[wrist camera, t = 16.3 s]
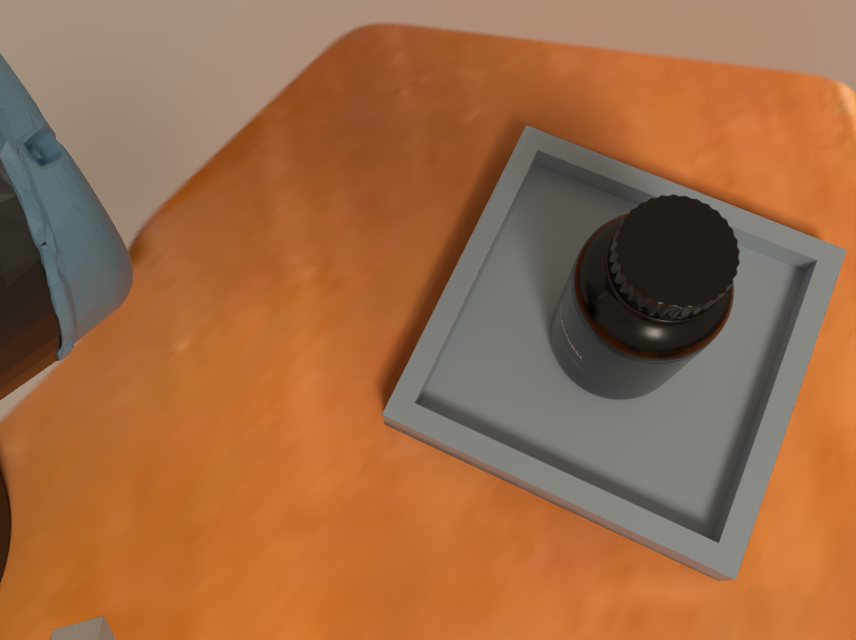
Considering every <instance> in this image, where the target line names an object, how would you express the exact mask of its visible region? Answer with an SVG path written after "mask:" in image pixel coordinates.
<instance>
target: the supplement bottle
mask: <svg viewBox="0 0 856 640" xmlns="http://www.w3.org/2000/svg"><path fill="white" fill-rule="evenodd" d="M737 244H738V240H737V239H736V237H735V236H734V231H733V229H732V228H731V227H730V226H729V225H728V222H727V220H726V219H725V218H723V217H722V216H721V215H720V213H719V211H717V210H714V209H712V208H711V206H710V205H709V204H706V203H702V202H701V201H700V200H698V199H691V198H689V197H688V196H677V195H675V194H673V195H670V196H665V195H661V196H659V197H658V198H650V199H649V200H648V201H647V202H642V203H640V204H639V205H638V206H637V208H634V209H631V210H630V212H629V213H627V214H624V215H620V216H618V217H616V218H613V219H612V220H610V221H608V222H606V223H605V224H603V225H602V226H601V227H599V228H598V229H597V230H596V231H595V232H594V233H593V234H592V235H591V236H590V237H589V238H588V240H587V241H586V242H585V244H584V245H583V247H582V249H581V250H580V252H579V254H578V256H577V258H576V261H575V263H574V265H573V268H572V270H571V272H570V275H569V277H568V280H567V282H566V284H565V287H564V289H563V291H562V294H561V296H560V299H559V301H558V303H557V306H556V309H555V312H554V314H553V318H552V323H551V343H552V348H553V352H554V355H555V357H556V359H557V361H558V363H559V365H560V367H561V368H562V370H563V371H564V372H565V374H566V375H567V376H568V377H569V378H570V379H571V380H572V381H573V382H574V383H575V384H576V385H578V386H579V387H581V388H582V389H584V390H585V391H587V392H589V393H591V394H594V395H596V396H599V397H603V398H607V399H614V400H627V399H634V398H638V397H641V396H644V395H646V394H649V393H651V392H653V391H654V390H656V389H658V388H659V387H660V386H662V385H663V384H664V383H666V382H667V381H668V380H669V379H670V378H671V377H673V376H674V375H675V374H676V373H677V372H678V371H679V370H681V369H682V368H683V367H684V366H685V365H686V364H687V363H689V362H690V361H691V360H692V359H693V358H694V357H695V356H697V355H698V354H699V353H700V352H701V351H702V350H703V349H705V348H706V347H707V346H708V345H709V344H710V343H711V342H712V341H713V340H714V339H715V338H716V337H717V336H718V334H719V333H720V332H721V330H722V329H723V328H724V326H725V324H726V322H727V320H728V318H729V316H730V313H731V309H732V306H733V300H734V281H733V279H734V278H735V277H736V275H737V267H738V266H739V264H740V262H739V258H738V256H739V253H740V251H739V249H738V247H737Z"/></svg>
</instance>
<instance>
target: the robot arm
mask: <svg viewBox="0 0 856 640" xmlns="http://www.w3.org/2000/svg"><path fill="white" fill-rule="evenodd" d="M132 280H133V267H132V262H131V258H130V255H129V253H128V251H127V248H126V246H125V244H124V242H123V240H122V238H121V237H120V235H119V233H118V231H117V229H116V228H115V226H114V224H113V222H112V221H111V219H110V217H109V215H108V214H107V212H106V210H105V209H104V207H103V206H102V204H101V202H100V201H99V199H98V198H97V196H96V194H95V193H94V191H93V189H92V188H91V186H90V185H89V183H88V182H87V180H86V179H85V177H84V175H83V174H82V172H81V171H80V169H79V168H78V167H77V165H76V164H75V162H74V161H73V159H72V157H71V156H70V155H69V153H68V152H67V151H66V150H65V148H64V147H63V146H62V145H61V144H60V143H59V142H58V141H57V140H56V137H55V133H54V131H53V130H52V129H51V127H50V126H49V124H48V123H47V122H46V120H45V119H44V117H43V116H42V114H41V112H40V110H39V108H38V107H37V105H36V103H35V102H34V101H33V99H32V98H31V96H30V94H29V93H28V92H27V90H26V89H25V87H24V86H23V84H22V83H21V81H20V80H19V79H18V77H17V76H16V74H15V73H14V72H13V70H12V69H11V67H10V66H9V65H8V63H7V62H6V60H5V59H4V58H3V56H2V55H1V54H0V400H1V399H3V398H4V397H6V396H7V395H8V394H10V393H11V392H13V391H14V390H15V389H17V388H18V387H19V386H21V385H23V384H24V383H25V382H27V381H28V380H30V379H31V378H33V377H34V376H35V375H37V374H38V373H40V372H41V371H43V370H44V369H45V368H47V367H48V366H50V365H51V364H52V363H54V362H55V361H60V360H62V359H63V358H65V357H66V356H68V355H69V354H70V352H71V351H72V349H73V347H74V344H75V343H76V342H77V341H78V340H79V339H81V338H82V337H83V336H84V335H85V334H87V333H88V332H89V331H90V330H92V329H93V328H94V327H95V326H96V325H98V324H99V323H100V322H101V321H103V320H104V319H105V318H106V317H108V316H109V315H110V314H111V313H112V312H114V311H115V310H116V309H117V308H118V307H119V306H120V305H121V304H122V303H123V302H124V301H125V299H126V298H127V296H128V294H129V292H130V289H131V286H132ZM9 534H10V516H9V506H8V500H7V495H6V491H5V487H4V484H3V481H2V478H1V475H0V581H1V578H2V575H3V571H4V567H5V563H6V558H7V553H8V546H9ZM50 640H116V638H115V637H114V635H113V633H112V631H111V629H110V627H109V625H108V623H107V621H106V619H105V618H104V616H102V617H98V618H94V619H90V620H87V621H83V622H79V623H76V624H72V625H68V626H65V627H61V628H57V629H54V630H53V632H52V635H51V638H50Z"/></svg>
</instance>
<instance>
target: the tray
mask: <svg viewBox="0 0 856 640" xmlns="http://www.w3.org/2000/svg"><path fill="white" fill-rule="evenodd" d="M673 194H675V195H677V196H688V197H689V198H691V199H698V200H700V201H701V202H702V203H706V204H709V205H710V206H711V208H712V209H714V210H717V211H719V213H720V215H721V216H722V217H723V218H725V219H726V220H727V222H728V225H729V226H730V227H731V228H732V229H733V231H734V236H735V237H736V239H737V240H738V244H737V247H738V249H739V251H740V253H739V256H738V258H739V262H740V264H739V266H738V267H737V275H736V277H735V278H734V279H733V281H734V300H733V306H732V309H731V313H730V316H729V318H728V320H727V322H726V324H725V326H724V328H723V329H722V330H721V332H720V333H719V334H718V336H717V337H716V338H715V339H714V340H713V341H712V342H711V343H710V344H709V345H708V346H707V347H706V348H705V349H703V350H702V351H701V352H700V353H699V354H698V355H697V356H695V357H694V358H693V359H692V360H691V361H690V362H689V363H687V364H686V365H685V366H684V367H683V368H682V369H681V370H679V371H678V372H677V373H676V374H675V375H674V376H673V377H671V378H670V379H669V380H668V381H667V382H666V383H664V384H663V385H662V386H660V387H659V388H658V389H656V390H654V391H653V392H651V393H649V394H646V395H644V396H641V397H638V398H634V399H627V400H614V399H607V398H603V397H599V396H596V395H594V394H591V393H589V392H587V391H585V390H584V389H582V388H581V387H579V386H578V385H576V384H575V383H574V382H573V381H572V380H571V379H570V378H569V377H568V376H567V375H566V374H565V372H564V371H563V370H562V368H561V367H560V365H559V363H558V361H557V359H556V357H555V355H554V352H553V348H552V343H551V323H552V318H553V314H554V312H555V309H556V306H557V303H558V301H559V299H560V296H561V294H562V291H563V289H564V287H565V284H566V282H567V280H568V277H569V275H570V272H571V270H572V268H573V265H574V263H575V261H576V258H577V256H578V254H579V252H580V250H581V249H582V247H583V245H584V244H585V242H586V241H587V240H588V238H589V237H590V236H591V235H592V234H593V233H594V232H595V231H596V230H597V229H598V228H599V227H601V226H602V225H603V224H605V223H606V222H608V221H610V220H612V219H613V218H616V217H618V216H620V215H624V214H627V213H629V212H630V210H631V209H634V208H637V206H638V205H639V204H640V203H642V202H647V201H648V200H649V199H650V198H658V197H659V196H661V195H665V196H670V195H673ZM846 251H847V250H846V249H843V248H841V247H838V246H836V245H833V244H831V243H828V242H825V241H823V240H820V239H818V238H815V237H813V236H810V235H807V234H805V233H802V232H800V231H797V230H795V229H792V228H789V227H787V226H784V225H782V224H779V223H777V222H774V221H772V220H769V219H766V218H764V217H761V216H759V215H756V214H754V213H751V212H748V211H746V210H743V209H741V208H738V207H736V206H733V205H730V204H728V203H725V202H723V201H720V200H718V199H715V198H712V197H710V196H707V195H705V194H702V193H700V192H697V191H695V190H692V189H689V188H687V187H684V186H682V185H679V184H677V183H674V182H671V181H669V180H666V179H664V178H661V177H659V176H656V175H653V174H651V173H648V172H646V171H643V170H641V169H638V168H635V167H633V166H630V165H628V164H625V163H623V162H620V161H618V160H615V159H612V158H610V157H607V156H605V155H602V154H600V153H597V152H594V151H592V150H589V149H587V148H584V147H582V146H579V145H576V144H574V143H571V142H569V141H566V140H564V139H561V138H558V137H556V136H553V135H551V134H548V133H546V132H543V131H541V130H538V129H535V128H533V127H530V126H528V125H526V127H525V129H524V131H523V133H522V135H521V137H520V139H519V141H518V143H517V145H516V147H515V149H514V151H513V153H512V155H511V157H510V159H509V161H508V163H507V165H506V167H505V169H504V171H503V173H502V175H501V177H500V179H499V181H498V183H497V185H496V187H495V189H494V191H493V193H492V195H491V197H490V199H489V201H488V203H487V205H486V207H485V209H484V211H483V213H482V215H481V217H480V219H479V221H478V223H477V225H476V227H475V229H474V231H473V233H472V235H471V237H470V239H469V241H468V243H467V245H466V247H465V249H464V251H463V253H462V255H461V257H460V259H459V261H458V263H457V265H456V267H455V269H454V271H453V273H452V275H451V277H450V279H449V281H448V283H447V285H446V287H445V289H444V291H443V293H442V295H441V297H440V299H439V301H438V303H437V305H436V307H435V309H434V311H433V313H432V315H431V317H430V319H429V321H428V323H427V325H426V327H425V329H424V331H423V333H422V335H421V337H420V339H419V341H418V343H417V345H416V347H415V349H414V351H413V353H412V355H411V357H410V359H409V361H408V363H407V365H406V367H405V369H404V371H403V373H402V375H401V377H400V379H399V381H398V383H397V385H396V387H395V389H394V391H393V393H392V395H391V397H390V399H389V401H388V403H387V405H386V407H385V409H384V411H383V413H382V416H383V419H384V422H385V424H386V425H387V426H389V427H391V428H394V429H396V430H398V431H400V432H402V433H404V434H406V435H409V436H411V437H413V438H415V439H417V440H419V441H421V442H423V443H426V444H428V445H430V446H432V447H434V448H436V449H438V450H441V451H443V452H445V453H447V454H449V455H451V456H453V457H455V458H458V459H460V460H462V461H464V462H466V463H468V464H470V465H473V466H475V467H477V468H479V469H481V470H483V471H485V472H488V473H490V474H492V475H494V476H496V477H498V478H500V479H502V480H505V481H507V482H509V483H511V484H513V485H515V486H517V487H520V488H522V489H524V490H526V491H528V492H530V493H532V494H534V495H537V496H539V497H541V498H543V499H545V500H547V501H549V502H552V503H554V504H556V505H558V506H560V507H562V508H564V509H567V510H569V511H571V512H573V513H575V514H577V515H579V516H581V517H584V518H586V519H588V520H590V521H592V522H594V523H596V524H599V525H601V526H603V527H605V528H607V529H609V530H611V531H614V532H616V533H618V534H620V535H622V536H624V537H626V538H628V539H631V540H633V541H635V542H637V543H639V544H641V545H643V546H646V547H648V548H650V549H652V550H654V551H656V552H658V553H660V554H663V555H665V556H667V557H669V558H671V559H673V560H675V561H678V562H680V563H682V564H684V565H686V566H688V567H690V568H693V569H695V570H697V571H699V572H701V573H703V574H705V575H707V576H710V577H712V578H714V579H716V580H718V581H719V580H736V577H737V574H738V571H739V568H740V565H741V562H742V559H743V556H744V553H745V550H746V547H747V545H748V542H749V539H750V536H751V533H752V530H753V527H754V524H755V521H756V518H757V515H758V512H759V509H760V506H761V503H762V500H763V497H764V494H765V491H766V488H767V485H768V482H769V479H770V476H771V473H772V470H773V467H774V464H775V461H776V458H777V455H778V452H779V450H780V447H781V444H782V441H783V438H784V435H785V432H786V429H787V426H788V423H789V420H790V417H791V414H792V411H793V408H794V405H795V402H796V399H797V396H798V393H799V390H800V387H801V384H802V381H803V378H804V375H805V372H806V369H807V366H808V363H809V360H810V357H811V355H812V352H813V349H814V346H815V343H816V340H817V337H818V334H819V331H820V328H821V325H822V322H823V319H824V316H825V313H826V310H827V307H828V304H829V301H830V298H831V295H832V292H833V289H834V286H835V283H836V280H837V277H838V274H839V271H840V268H841V265H842V262H843V260H844V257H845V254H846Z"/></svg>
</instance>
